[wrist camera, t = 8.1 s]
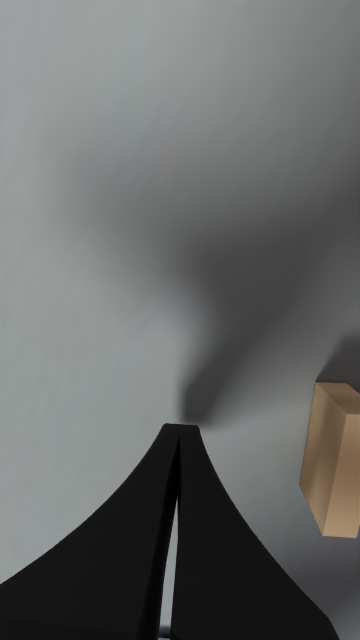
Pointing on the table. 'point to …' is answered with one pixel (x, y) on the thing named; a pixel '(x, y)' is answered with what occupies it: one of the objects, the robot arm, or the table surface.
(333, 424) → the oak tray
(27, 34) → the table surface
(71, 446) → the table surface
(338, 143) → the table surface
